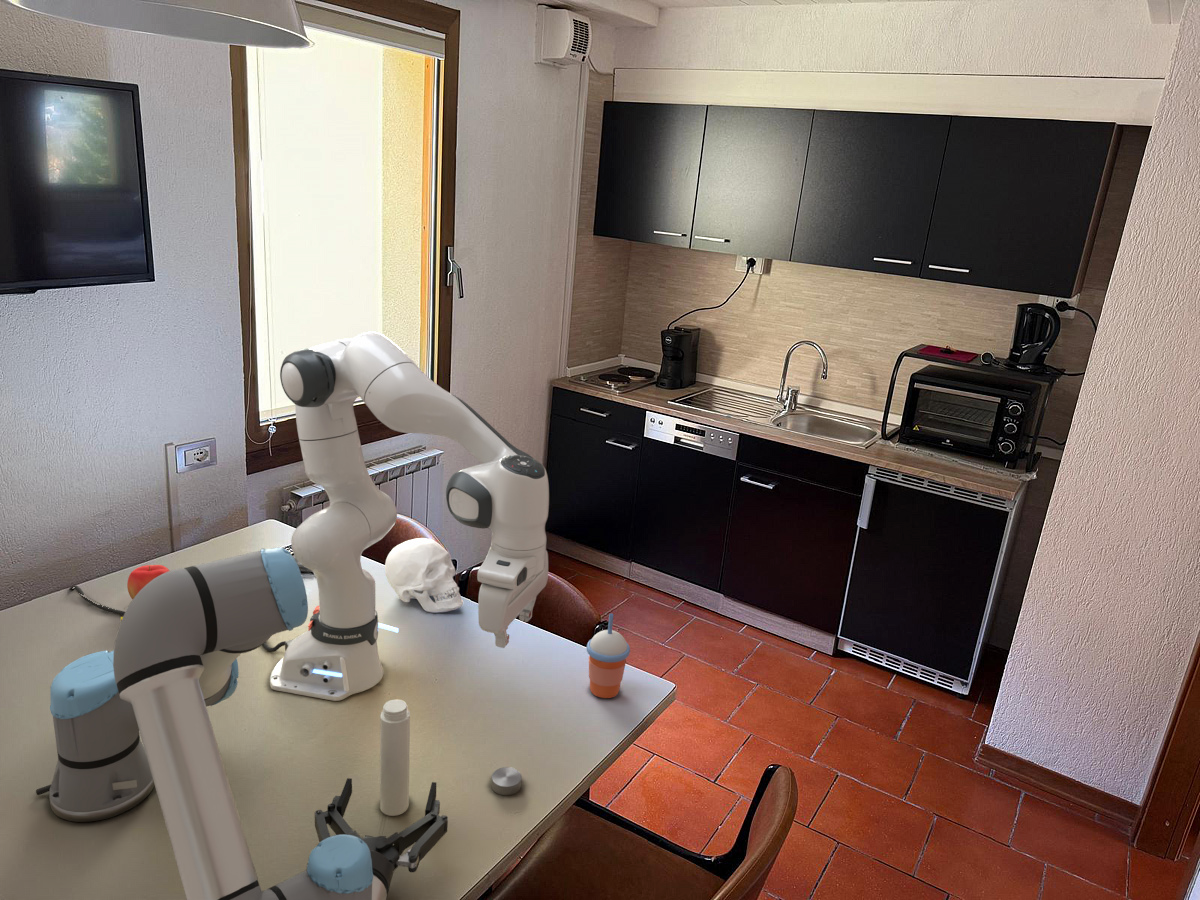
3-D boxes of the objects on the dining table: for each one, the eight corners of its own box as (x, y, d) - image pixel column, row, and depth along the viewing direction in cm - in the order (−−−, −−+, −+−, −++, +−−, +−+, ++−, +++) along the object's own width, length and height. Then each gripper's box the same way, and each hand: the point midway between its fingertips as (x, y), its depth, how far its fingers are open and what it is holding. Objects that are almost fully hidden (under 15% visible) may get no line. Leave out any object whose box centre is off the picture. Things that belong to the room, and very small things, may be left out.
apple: (178, 610, 199) (175, 571, 196) (132, 618, 194) (128, 578, 191) (171, 592, 207) (168, 555, 204) (127, 600, 202) (123, 562, 199)
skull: (448, 622, 203) (451, 561, 199) (372, 599, 211) (374, 540, 207) (477, 602, 215) (480, 543, 211) (405, 581, 223) (406, 524, 219)
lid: (502, 771, 154) (503, 763, 154) (526, 783, 152) (527, 774, 151) (485, 787, 150) (485, 779, 149) (509, 799, 148) (510, 790, 147)
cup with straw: (621, 706, 176) (629, 628, 171) (578, 698, 178) (585, 621, 173) (629, 682, 185) (636, 608, 180) (588, 675, 186) (594, 601, 181)
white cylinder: (396, 792, 147) (397, 694, 141) (414, 805, 144) (416, 705, 139) (374, 806, 143) (374, 705, 138) (392, 820, 141) (392, 718, 135)
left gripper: (270, 908, 119) (314, 803, 139) (450, 915, 120) (468, 809, 141) (268, 864, 117) (313, 764, 137) (451, 872, 118) (469, 771, 138)
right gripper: (525, 530, 148) (521, 601, 152) (472, 576, 129) (469, 656, 134) (559, 537, 146) (554, 609, 150) (510, 585, 128) (505, 666, 132)
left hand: (392, 787), depth 139 cm, fingers open, 13 cm apart
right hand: (514, 632), depth 142 cm, fingers open, 8 cm apart
